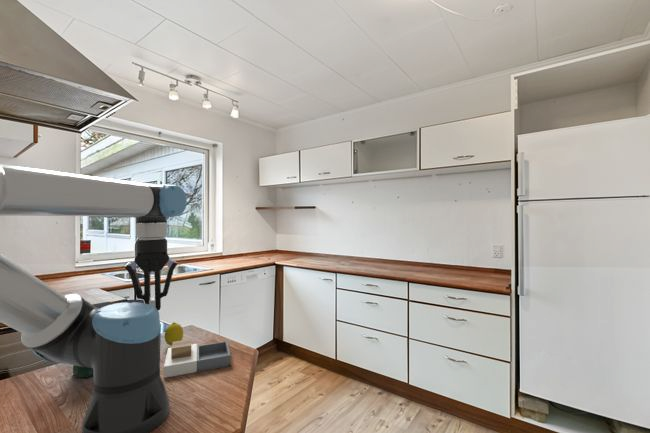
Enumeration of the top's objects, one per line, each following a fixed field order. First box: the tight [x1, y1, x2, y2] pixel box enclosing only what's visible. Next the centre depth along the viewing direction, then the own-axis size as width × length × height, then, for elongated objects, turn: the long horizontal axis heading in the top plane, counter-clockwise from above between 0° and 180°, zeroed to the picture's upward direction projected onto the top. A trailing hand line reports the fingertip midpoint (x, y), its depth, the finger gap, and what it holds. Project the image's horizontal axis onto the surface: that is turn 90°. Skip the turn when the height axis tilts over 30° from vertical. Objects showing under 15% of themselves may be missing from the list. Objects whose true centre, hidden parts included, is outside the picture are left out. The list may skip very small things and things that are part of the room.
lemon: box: [164, 321, 184, 346], centre depth 100 cm, size 6×6×8 cm
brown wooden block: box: [170, 338, 192, 359], centre depth 88 cm, size 5×5×3 cm
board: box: [163, 343, 198, 379], centre depth 88 cm, size 13×8×3 cm, turn 23°
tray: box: [196, 340, 231, 373], centre depth 90 cm, size 11×9×3 cm
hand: (152, 322), depth 85 cm, fingers closed
